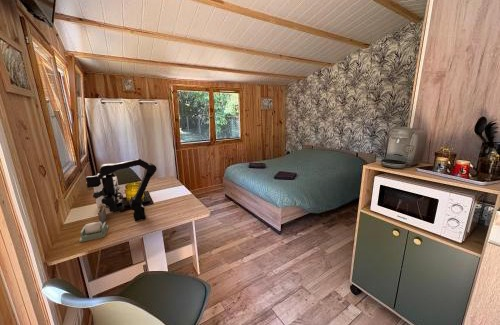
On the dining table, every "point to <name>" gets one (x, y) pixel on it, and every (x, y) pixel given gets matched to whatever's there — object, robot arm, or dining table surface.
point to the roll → (93, 227)
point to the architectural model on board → (102, 213)
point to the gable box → (101, 188)
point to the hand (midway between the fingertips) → (112, 208)
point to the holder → (93, 235)
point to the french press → (117, 202)
